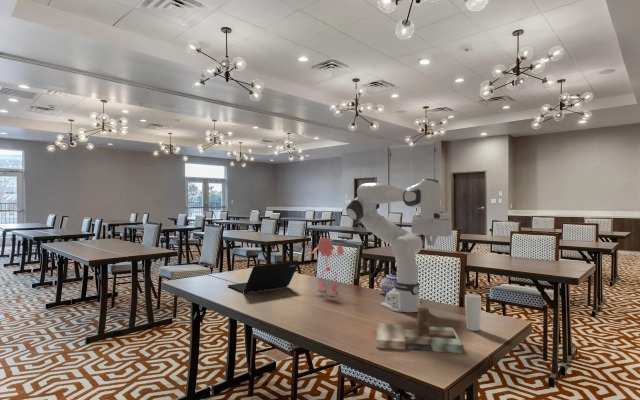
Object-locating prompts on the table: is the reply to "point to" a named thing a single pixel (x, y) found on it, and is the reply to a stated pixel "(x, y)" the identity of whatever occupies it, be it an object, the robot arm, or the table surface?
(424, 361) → the table surface
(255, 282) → the laptop
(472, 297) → the drinking glass
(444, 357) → the table surface
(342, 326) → the table surface
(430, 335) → the push block
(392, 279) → the teapot
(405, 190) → the robot arm
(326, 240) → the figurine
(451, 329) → the board
